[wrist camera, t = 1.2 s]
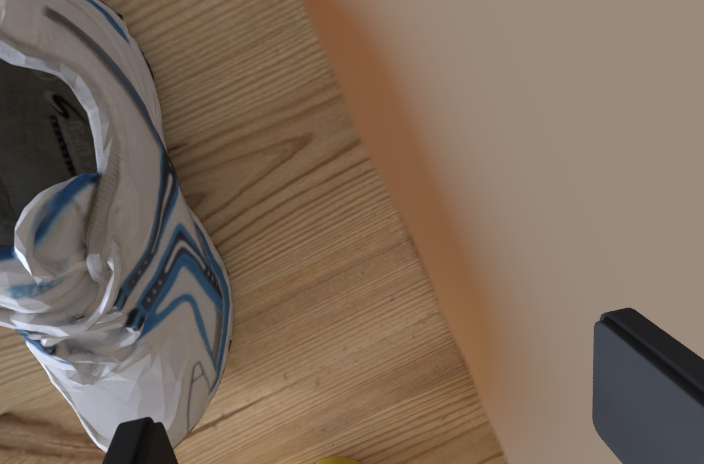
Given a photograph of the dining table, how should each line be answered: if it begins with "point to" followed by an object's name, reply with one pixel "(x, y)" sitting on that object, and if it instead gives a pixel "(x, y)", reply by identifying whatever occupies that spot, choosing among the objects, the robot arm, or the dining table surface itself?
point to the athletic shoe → (102, 226)
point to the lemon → (337, 460)
